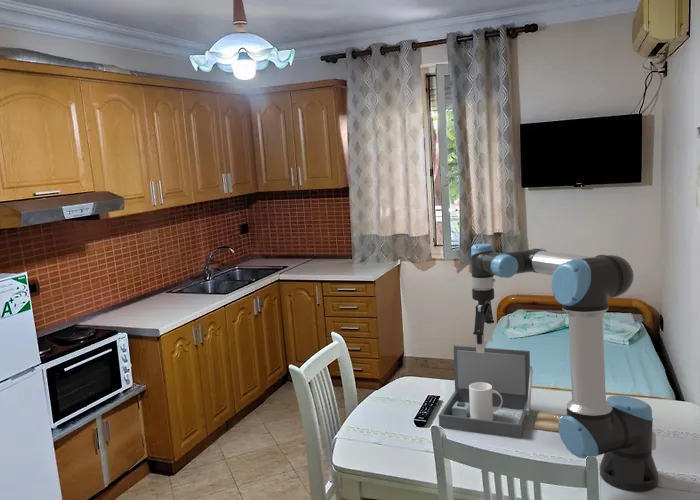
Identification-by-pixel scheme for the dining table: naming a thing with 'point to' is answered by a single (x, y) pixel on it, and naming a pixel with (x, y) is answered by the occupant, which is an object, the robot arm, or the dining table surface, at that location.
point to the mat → (547, 421)
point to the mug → (482, 401)
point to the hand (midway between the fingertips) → (484, 346)
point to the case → (504, 376)
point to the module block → (461, 409)
